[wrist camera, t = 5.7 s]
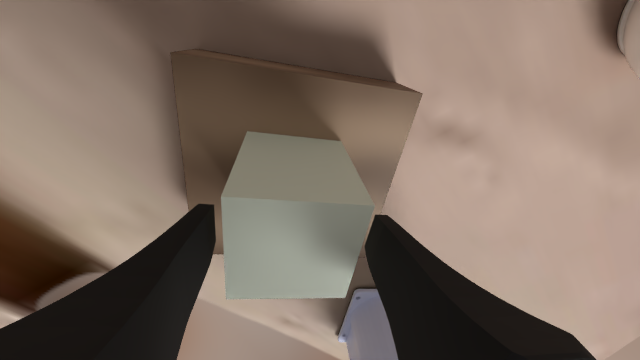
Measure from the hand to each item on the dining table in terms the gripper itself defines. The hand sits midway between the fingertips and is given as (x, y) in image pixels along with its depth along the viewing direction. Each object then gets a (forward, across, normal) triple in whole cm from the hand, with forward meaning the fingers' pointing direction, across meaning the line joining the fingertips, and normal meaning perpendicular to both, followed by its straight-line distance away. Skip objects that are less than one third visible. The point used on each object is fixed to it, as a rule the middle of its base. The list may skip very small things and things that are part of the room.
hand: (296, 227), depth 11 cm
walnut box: (+8, 0, 0) cm, 8 cm away
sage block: (+4, 0, 0) cm, 4 cm away
